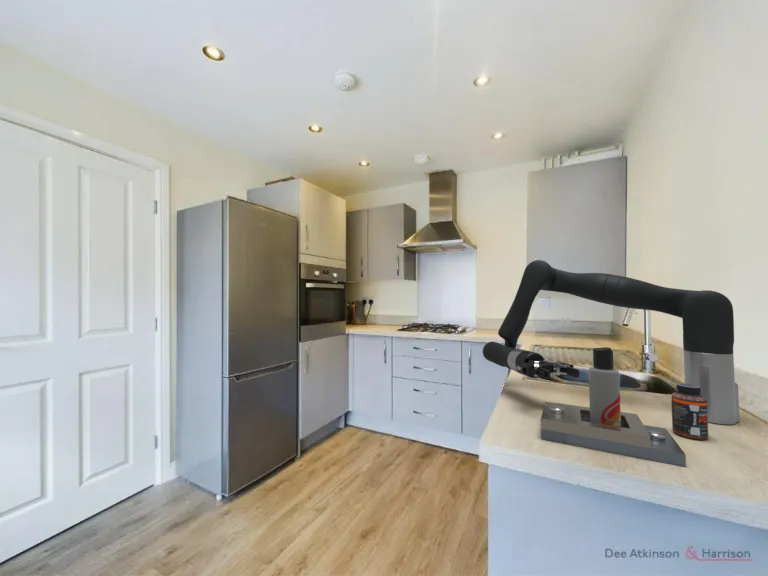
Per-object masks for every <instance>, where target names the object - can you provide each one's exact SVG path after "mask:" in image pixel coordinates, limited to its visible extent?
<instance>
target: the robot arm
mask: <svg viewBox="0 0 768 576" xmlns="http://www.w3.org/2000/svg"><path fill="white" fill-rule="evenodd" d="M523 271H524V272H523V273H522V276H521V279H520V282H519V286H518V289H517V292H516V294H515V296H514V299H513V302H512V303H511V306H510V307H509V310H508V312H507V314H506V316H505V318H504V319H503V321H502V323H501V325H500V327H499V329H498V331H497V332H498V333H497V335H498V336H499V337H500V338H501V339H502V340H503V341H504V344H502V343H499V342H497V341H488V342H487V343H485V344H484V346H483V348H482V355H483V357H484V359H485V360H487V361H489V362H491V363H493V364H495V365H498V366H500V367H503V368H507V369H509V370H512V371H514V372H515V373H518V374H520V375H523V376H525V377H528V378H531V379H537V378H542V379H546V380H549V379H551V375H553V376H560V375H564V376H565V375H566V376H569V377H572V378H576V379H577V378H580V369H578V368H575V365H574V364H569V363H566V362H562V361H559V360H558V361H550V360H548V359H545V358H544V356H543V355H541V354H540V353H538V352H535V351H531V350H527V349H519V348H517V345H518V344H517V343H518V340H519V338H520V336H521V334H522V332H523V330H524V329H525V326H526V324H527V321H528V319H529V316H530V313H531V309H532V306H533V304H534V302H535V299H536V297H537V295H538V294H539V292H540V291H544V292H545V291H547V292H556V293H563V294H568V295H571V296H576V297H578V298H583V299H584V300H589V301H593V302H597V303H600V304H605V305H610V306H613V307H618V308H627V309H632V310H633V309H635V310H645V311H654V312H660V313H663V314H667V315H671V316H674V317H678V318H681V319H682V347H683V365H684V366H683V368H684V371H683V372H684V383H685V384H693V385H697V386H700V388H701V393H700V394H701V395H702V396H703V397H705V398H706V400H707V413H708V423H711V424H712V423H713V424H719V425H736V424H737V422H741V421H740V420H741V419H740V401H739V399H740V398H739V397H740V396H739V384H738V383H737V382H735V379H736V378H735V377H736V376H735V363H734V362H735V361H734V360H735V359H734V343H735V321H734V309H733V308H734V307H733V303H732V302H731V300H730V299H729V297H727V296H726V295H724V294H722V293H721V292H718V291H715V290H706V289H705V290H693V289H692V290H691V289H681V288H672V287H666V286H661V285H657V284H653V283H651V282H647V281H643V280H640V279H636V278H634V277H628V276H623V275H616V274H611V273H603V272H583V273H582V272H581V273H580V272H577V273H576V272H571V271H565V270H562V269H558V268H555V267H553V266H552V265H550V263H548V262H547V261H545V260H541V259H536V260H533V261H532V262H530V263H528V264H527V266H526V267H525V269H524V270H523ZM555 370H556V372H555Z"/></svg>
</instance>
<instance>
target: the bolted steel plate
mask: <svg viewBox="0 0 768 576" xmlns="http://www.w3.org/2000/svg"><path fill="white" fill-rule="evenodd" d="M540 434H541V435H540V438H541V440H544V441H550V442H555V443H559V444H566V445H571V446H575V447H581V448H587V449H590V450H591V449H593V450H596V451H601V452H607V453H612V454H617V455H623V456H626V457H631V458H638V459H644V460H648V461H649V460H650V461H653V462H659V463H664V464H669V465H675V466H679V467H685V468H686V467H687V462H686V461H687V460H686V459H687V457H686V455H687V454H686V453H685V451H684V450H683V449H682V448H681V447H680V446H679V444H678V442H677V441H676V439H675V438H674V437H673V436H672V435H671V433H670V432H669V431H668V429H667V428H666V427H659V426H654V425H653V426H652V425H645V424H644V423H643V422H642V420H641V418H640V417H639V415H638V414H637V413H632V412H624V411H621V427H617V426H610V425H604V424H597V423H591V422H590V406H588V407H587V406H580V405H573V404H567V403H566V404H565V403H560V402H551V401H544V404H543V407H542V412H541V417H540Z"/></svg>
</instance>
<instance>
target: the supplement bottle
mask: <svg viewBox="0 0 768 576" xmlns="http://www.w3.org/2000/svg"><path fill="white" fill-rule="evenodd" d="M676 390H677V391H675V392H672V394H671V420H672V421H671V422H672V423H671V425H672V431H673V433H675V434H676V435H678V436H681V437H683V438H687V439H690V440H691V439H692V440H698V441H699V440H700V441H703V440H707V439H708V438H709V422H708V413H707V400H706V398H705V397H703V396H702V395H701V394H700V393H701V388H700V386H697V385H693V384H685V382H683V383H682V382H681V383H680V382H679V383H676Z"/></svg>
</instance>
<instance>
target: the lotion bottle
mask: <svg viewBox="0 0 768 576" xmlns="http://www.w3.org/2000/svg"><path fill="white" fill-rule="evenodd" d="M592 362H593V364H592V365H593V366H592V367H589V368H588V388H589V389H588V392H589V393H588V394H589V395H588V396H589V408H590V422H591V423H597V424H604V425H610V426H617V427H621V412H622V411H621V393H620V392H621V390H620V389H621V387H620V385H621V383H620V372H619V370H618V369H617V368H614V366H615V363H614V350H612V348H611V347H608V346H607V347H605V346H604V347H594V348H592Z"/></svg>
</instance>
